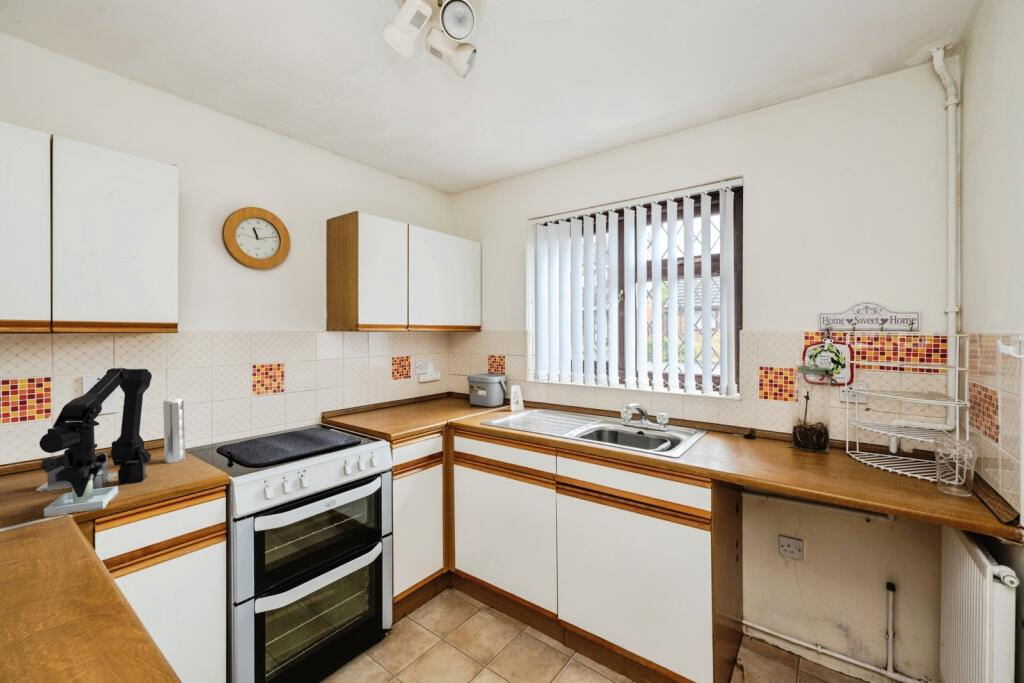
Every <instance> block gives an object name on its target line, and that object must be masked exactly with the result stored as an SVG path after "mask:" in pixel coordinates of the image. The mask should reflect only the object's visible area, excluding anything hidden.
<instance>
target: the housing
mask: <svg viewBox="0 0 1024 683" xmlns="http://www.w3.org/2000/svg"><path fill="white" fill-rule="evenodd" d="M102 453H103V454H104V455H106V462H104V463H100V462H95V463H94V464H96V466H98V465H102V467H101V468H100V470H103V474H102V484H105V483H104V482H109V481H110V480H111V479H112V478H113V477H114V476H116V475H117V476H118V471H117V472H116V471H115V472H109V461H108V460H109V459H108V458H109V456H108V452H102ZM63 468H64V466H62V467H59V468H56V469H54V470H51V471H50V472H48V473H46V475H47V476H46V478H47V481H45V483H43V484H42V485H40V486H38V487H37V488H36V492H37V491H40V492H44V491H43V490H48V491H54V489H56V490H62V489H63V488H64V489H71V488H72V485H71V483H70V482H68V481H55V474H57V473H58V472H59V471H60V470H62V469H63ZM66 468H67V467H66ZM117 476H116V477H117ZM114 478H115V477H114ZM114 478H113V479H114ZM113 479H112V480H113ZM112 480H111V481H112ZM111 481H110V482H111ZM110 482H109V483H110ZM70 487H71V488H70ZM64 489H63V490H64Z"/></svg>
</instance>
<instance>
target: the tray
mask: <svg viewBox="0 0 1024 683" xmlns="http://www.w3.org/2000/svg"><path fill="white" fill-rule="evenodd" d="M117 493H118V494H119V486H118V485H116V486H110V487H109V486H108V487H102V488H100V489H93V498H92V499H90V500H87V501H83V502H73V491H71V492H64V493H63V494H62V495H61V496H59V497H58V498H57V499H55V500H54V501H53V502H51V504H49V505H48V506H46V507H45V508H43V517H44V516H48V515H53V514H59V513H72V512H77V511H87V512H93V511H100V510H104V509H105V508H106V507H107V506H108V505H109V504H108V502H109V501H110V500H111V499H112V498H113V497H114V496H115V495H116V494H117ZM118 494H117V495H118ZM117 495H116V496H117ZM116 496H115V497H116ZM115 497H114V498H115ZM114 498H113V499H114ZM113 499H112V500H113ZM112 500H111V501H112ZM107 504H108V505H107ZM106 505H107V506H106ZM88 510H89V511H88Z"/></svg>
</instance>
